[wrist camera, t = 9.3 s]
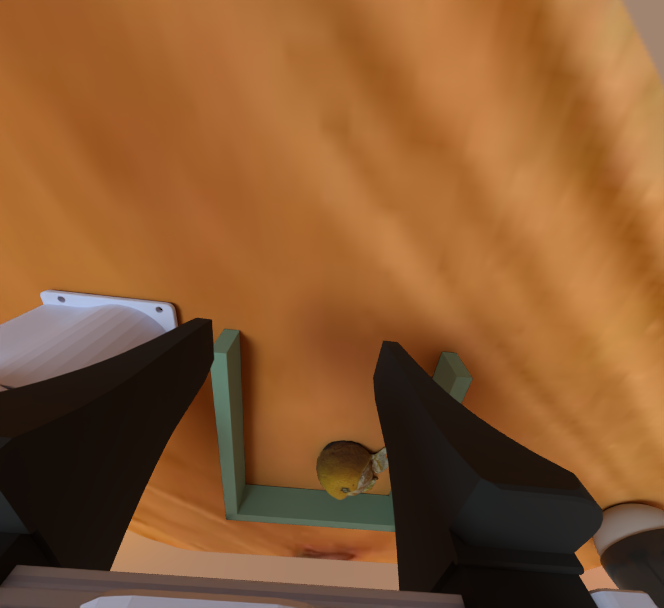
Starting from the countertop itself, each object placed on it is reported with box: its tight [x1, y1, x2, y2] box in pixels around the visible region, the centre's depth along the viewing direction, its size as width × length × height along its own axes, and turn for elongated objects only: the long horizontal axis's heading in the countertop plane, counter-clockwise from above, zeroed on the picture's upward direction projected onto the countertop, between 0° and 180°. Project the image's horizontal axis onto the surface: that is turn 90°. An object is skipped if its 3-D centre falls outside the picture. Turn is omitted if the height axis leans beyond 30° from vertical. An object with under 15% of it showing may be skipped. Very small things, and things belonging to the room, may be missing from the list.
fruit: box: [316, 441, 389, 500], centre depth 28 cm, size 8×8×4 cm
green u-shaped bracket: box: [211, 329, 473, 532], centre depth 26 cm, size 19×22×3 cm
